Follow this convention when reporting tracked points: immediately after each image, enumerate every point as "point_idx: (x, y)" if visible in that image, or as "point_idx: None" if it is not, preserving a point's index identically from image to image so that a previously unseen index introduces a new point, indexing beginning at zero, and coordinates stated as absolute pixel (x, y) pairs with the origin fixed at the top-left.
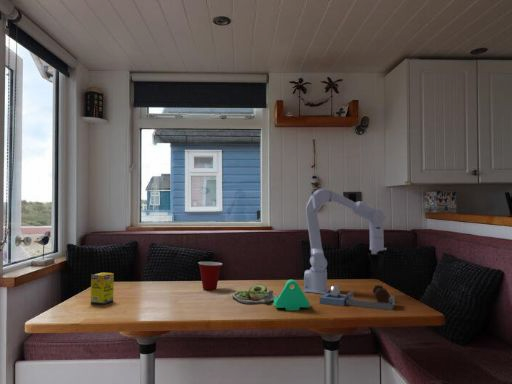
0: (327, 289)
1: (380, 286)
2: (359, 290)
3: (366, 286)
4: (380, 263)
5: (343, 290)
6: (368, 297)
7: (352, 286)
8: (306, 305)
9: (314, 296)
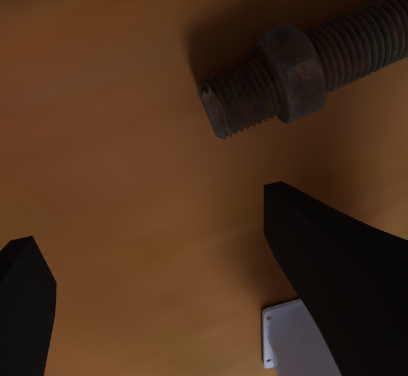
0: (275, 315)
1: (322, 68)
2: (176, 223)
3: None
4: (13, 294)
5: (225, 275)
6: (340, 110)
7: (90, 294)
8: None
9: None
